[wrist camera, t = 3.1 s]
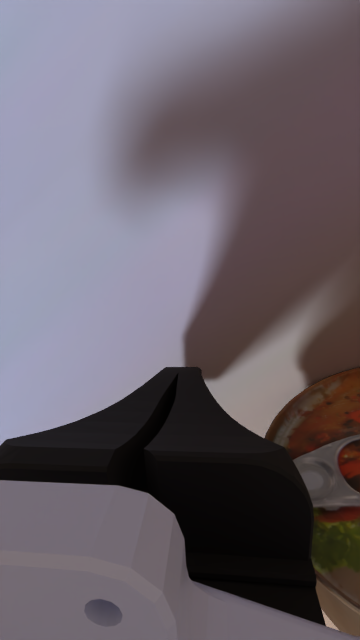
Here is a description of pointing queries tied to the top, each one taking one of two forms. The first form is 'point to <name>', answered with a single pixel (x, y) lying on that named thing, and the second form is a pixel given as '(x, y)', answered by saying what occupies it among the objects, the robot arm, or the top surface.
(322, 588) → the tin
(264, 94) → the top surface
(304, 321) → the top surface
